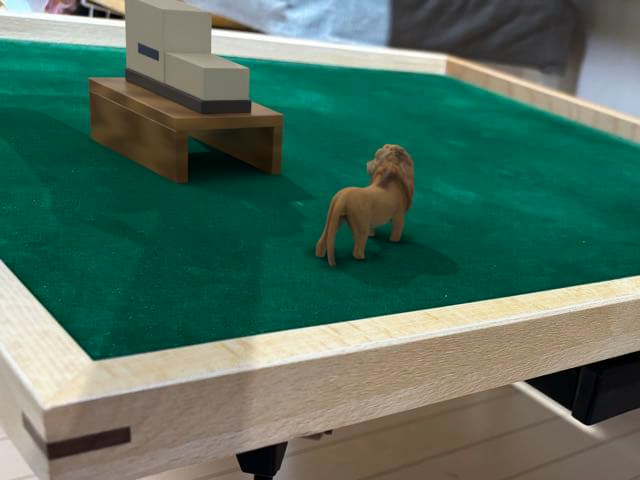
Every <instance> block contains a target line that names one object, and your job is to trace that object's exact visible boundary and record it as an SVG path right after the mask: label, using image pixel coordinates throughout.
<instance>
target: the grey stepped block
mask: <svg viewBox="0 0 640 480" xmlns="http://www.w3.org/2000/svg"><path fill="white" fill-rule="evenodd" d="M212 14H213V13H212V12H211V11H209V10H206V9H203V8H200V7H197V6H195V5H192V4H189V3H186V2H183V1H181V0H124V28H125V58H126V67H124V78H125V80H127V81H129V82H131V83H134V84H136V85H138V86H140V87H142V88H145V89H147V90H149V91H151V92H154V93H156V94H158V95H160V96H163V97H165V98H167V99H169V100H172V101H174V102H176V103H178V104H180V105H183V106H185V107H187V108H189V109H192V110H194V111H196V112H198V113H201V114H218V113H251V106H252V102H253V101H252V99H250V97H249V95H250V68H249V67H247V66H244V65H241V64H239V63H237V62H234V61H231V60H230V59H226V58H224V57H222V56H219V55H216V54H213V53H212V31H213V29H212V26H213V25H212V24H213V23H212V22H213V19H212V18H213V15H212Z"/></svg>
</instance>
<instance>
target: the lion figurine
mask: <svg viewBox="0 0 640 480" xmlns="http://www.w3.org/2000/svg"><path fill="white" fill-rule="evenodd" d="M414 169H415V167H414V161H413V160H412V157H411V155H410V154H409V153H408V151H406V149H405V148H404V147H402V146H400V145H398V144H389V143H386V144H384V145H383V146H382V148H379V149H377V151H376V152H375V153H374V159H373V160H370V161H367V163H366V171H367V172H366V173H367V174H368V175H369V176H370V180H369V185H368V186H366V187H358V186H348V187H344V188H342V189H340V190H339V191H338V192H337V193H335V195H334V196H333V197H332V200H331V202H330V205H329V209H328V212H327V217H326V222H325V227H324V230H323V232H322V235H321V237H320V238H319V239H318V242H317V243H316V246H315V247H316V248H315V256H316V257H319V258H324V257H325V256H326V251H327V260H328V261H327V262H328V264H329V266H330V267H334V266H337V264H336V260H335V240H336V234H337V233H338V232H339V230H340V229H341V228H342V227H343V225H344V224H345V223H346V224H347V226H348V228H349V229H350V232H351V235H352V239H353V249H352V256H353V257H354V259H357V260H359V259H360V260H362V259H363V260H364V259H365V248H366V244H367V241H368V237H375V236H376V228H379V227H381V226H384V225H386V224H387V223H390V227H391V228H390V229H391V230H390V231H391V232H390V236H389V241H390V242H399V241H400V239H401V238H402V232H403V229H404V225H405V214H406V213H407V212H408V211H409V210H411V209H412V206H413V197H414V196H415V180H414V178H415V172H414Z"/></svg>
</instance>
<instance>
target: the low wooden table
mask: <svg viewBox="0 0 640 480" xmlns="http://www.w3.org/2000/svg"><path fill="white" fill-rule="evenodd" d="M87 81H88V104H89V121H90V122H89V125H90V138H91V140H92V141H94V142H96V143H98V144H100V145H102V146H104V147H106V148H108V149H110V150H112V151H113V152H116V153H118V154H119V155H122V156H123V157H125V158H127V159H129V160H131V161H133V162H135V163H137V164H138V165H141V166H143V167H144V168H147V169H148V170H150V171H153V172H154V173H156V174H158V175H159V176H162V177H164V178H165V179H168V180H169V181H171V182H173V183H175V184H183V183H188V182H189V137H192V138H194V139H195V140H197V141H200V142H201V143H204V144H206V145H209V146H211V147H212V148H215V149H216V150H219V151H220V152H223V153H224V154H228V155H229V156H232V157H234V158H236V159H238V160H240V161H243V162H244V163H246V164H249V165H251V166H252V167H255V168H257V169H259V170H261V171H263V172H266V173H268V174H269V175H281V174H282V161H283V160H282V157H283V138H284V122H285V121H284V119H285V115H284V114H283V113H280V112H278V111H275V110H274V109H271V108H268V107H266V106H263V105H262V104H259V103H256V102H254V101H252V106H251V113H218V114H201V113H198V112H196V111H194V110H192V109H189V108H187V107H185V106H183V105H180V104H178V103H176V102H174V101H172V100H169V99H167V98H165V97H163V96H160V95H158V94H156V93H154V92H151V91H149V90H147V89H145V88H142V87H140V86H138V85H136V84H134V83H131V82H129V81H127V80H125V77H88V80H87Z"/></svg>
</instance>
